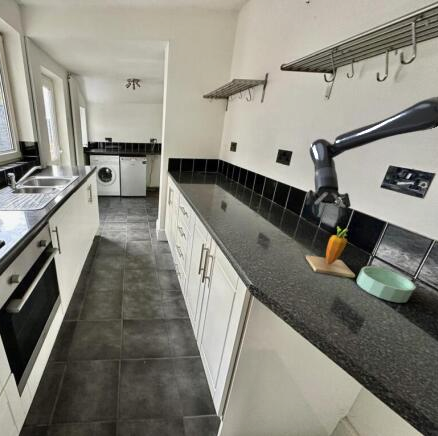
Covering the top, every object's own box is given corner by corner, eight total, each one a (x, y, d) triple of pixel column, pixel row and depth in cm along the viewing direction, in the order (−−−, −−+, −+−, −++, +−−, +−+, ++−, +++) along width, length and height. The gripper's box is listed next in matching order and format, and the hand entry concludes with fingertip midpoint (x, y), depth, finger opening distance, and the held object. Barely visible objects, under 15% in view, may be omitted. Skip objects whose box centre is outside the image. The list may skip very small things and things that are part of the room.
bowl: (390, 282, 79) (397, 270, 77) (418, 307, 68) (427, 293, 66) (348, 275, 81) (354, 263, 80) (369, 298, 70) (376, 285, 69)
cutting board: (340, 262, 89) (341, 260, 89) (354, 278, 80) (355, 275, 80) (305, 257, 92) (306, 255, 91) (315, 271, 83) (316, 268, 83)
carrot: (319, 259, 89) (332, 223, 83) (335, 262, 87) (350, 226, 81) (322, 265, 85) (336, 228, 79) (338, 269, 83) (354, 231, 77)
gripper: (310, 174, 94) (313, 209, 88) (351, 177, 91) (356, 214, 85) (302, 184, 101) (304, 217, 95) (340, 187, 98) (344, 222, 92)
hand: (328, 216), depth 90 cm, fingers open, 8 cm apart
